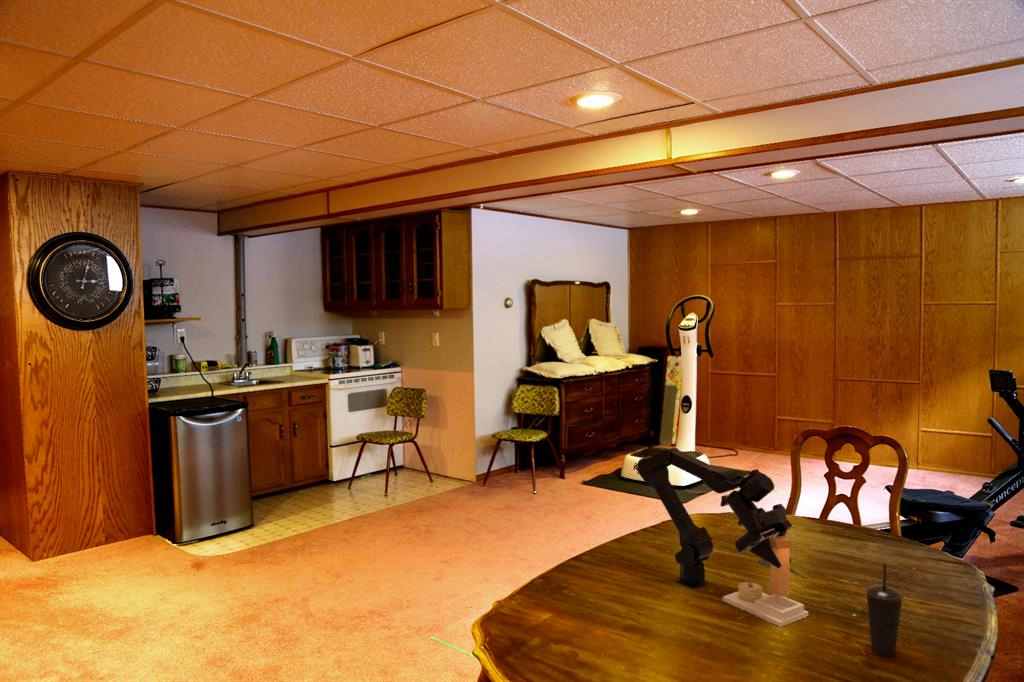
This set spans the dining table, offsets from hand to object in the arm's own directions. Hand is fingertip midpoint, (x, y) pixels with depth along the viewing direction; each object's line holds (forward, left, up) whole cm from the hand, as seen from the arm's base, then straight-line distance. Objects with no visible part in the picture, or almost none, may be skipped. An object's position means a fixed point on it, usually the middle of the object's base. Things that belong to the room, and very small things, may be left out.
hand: (785, 564), depth 176 cm
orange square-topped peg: (-1, 0, -8) cm, 8 cm away
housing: (-6, 0, -13) cm, 15 cm away
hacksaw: (-16, +26, -14) cm, 34 cm away
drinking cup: (+23, +4, -14) cm, 27 cm away
